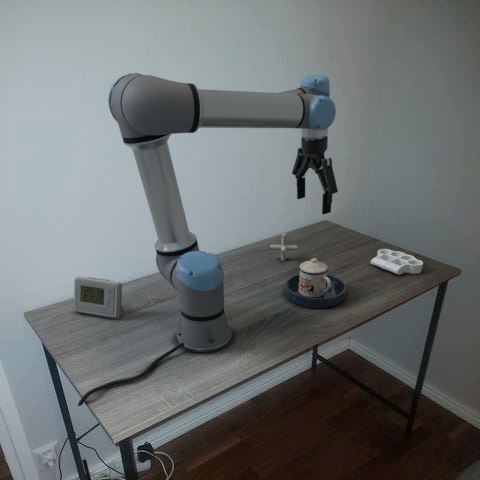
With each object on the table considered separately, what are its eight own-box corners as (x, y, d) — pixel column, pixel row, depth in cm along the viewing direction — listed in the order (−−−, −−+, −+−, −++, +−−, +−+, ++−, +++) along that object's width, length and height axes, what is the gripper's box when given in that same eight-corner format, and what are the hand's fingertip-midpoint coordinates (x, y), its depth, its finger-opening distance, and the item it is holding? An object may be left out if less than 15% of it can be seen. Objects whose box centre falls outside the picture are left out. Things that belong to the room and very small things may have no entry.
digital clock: (71, 312, 138) (64, 281, 133) (93, 300, 145) (87, 269, 139) (110, 325, 131) (104, 292, 126) (131, 311, 138) (126, 280, 132)
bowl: (337, 313, 135) (338, 303, 134) (277, 301, 142) (277, 292, 140) (350, 287, 150) (351, 278, 149) (295, 277, 157) (296, 268, 155)
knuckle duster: (363, 263, 167) (387, 254, 175) (404, 279, 155) (429, 269, 162) (364, 255, 165) (389, 245, 173) (406, 271, 153) (431, 260, 160)
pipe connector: (296, 255, 175) (297, 230, 170) (296, 265, 166) (297, 239, 161) (270, 254, 176) (271, 229, 171) (269, 264, 167) (270, 239, 162)
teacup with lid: (291, 291, 148) (293, 258, 142) (311, 283, 153) (313, 251, 147) (319, 304, 140) (322, 270, 134) (338, 295, 144) (342, 262, 138)
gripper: (353, 144, 121) (348, 216, 134) (300, 123, 139) (300, 189, 152) (330, 150, 119) (327, 223, 132) (280, 129, 136) (282, 195, 150)
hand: (313, 205), depth 142 cm, fingers open, 13 cm apart
